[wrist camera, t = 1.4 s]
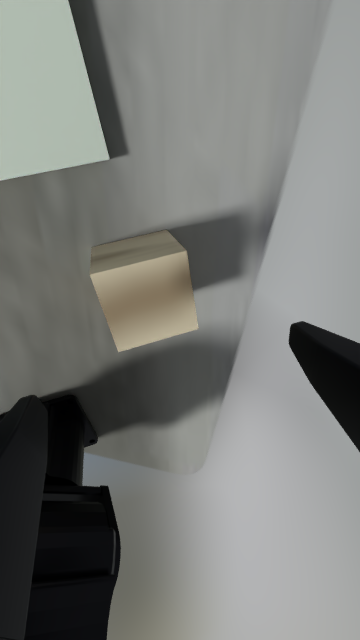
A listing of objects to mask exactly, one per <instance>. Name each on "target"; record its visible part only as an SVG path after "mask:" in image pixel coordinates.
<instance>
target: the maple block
mask: <svg viewBox="0 0 360 640" xmlns="http://www.w3.org/2000/svg"><path fill="white" fill-rule="evenodd" d="M90 277H91V279H92V282H93V285H94V287H95V290H96V293H97V295H98V298H99V301H100V303H101V306H102V309H103V312H104V314H105V317H106V320H107V322H108V325H109V328H110V330H111V333H112V336H113V338H114V341H115V344H116V347H117V349H118V352H121V351H124V350H127V349H131V348H134V347H138V346H141V345H145V344H148V343H152V342H155V341H159V340H162V339H165V338H169V337H172V336H176V335H179V334H183V333H186V332H190V331H193V330H197V329H198V323H197V316H196V309H195V303H194V296H193V289H192V283H191V276H190V269H189V263H188V256H187V250H186V249H185V248H184V247H183V246H182V245H181V244H180V243H179V242H178V241H177V240H176V239H175V238H174V237H173V236H172V235H171V234H170V233H169V232H168V231H167V230H163V231H159V232H154V233H150V234H146V235H141V236H137V237H133V238H129V239H124V240H120V241H116V242H112V243H107V244H103V245H99V246H95V247H92V249H91V264H90Z"/></svg>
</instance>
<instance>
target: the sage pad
mask: <svg viewBox="0 0 360 640" xmlns="http://www.w3.org/2000/svg"><path fill="white" fill-rule="evenodd" d="M104 160H109V155H108V151H107V147H106V143H105V139H104V136H103V132H102V128H101V124H100V120H99V116H98V113H97V109H96V105H95V101H94V97H93V93H92V90H91V86H90V82H89V78H88V74H87V71H86V67H85V63H84V59H83V55H82V51H81V48H80V44H79V40H78V36H77V32H76V28H75V25H74V21H73V17H72V13H71V9H70V5H69V2H68V0H0V181H1V180H6V179H11V178H16V177H21V176H27V175H32V174H37V173H42V172H47V171H52V170H58V169H63V168H68V167H73V166H78V165H83V164H88V163H94V162H99V161H104Z"/></svg>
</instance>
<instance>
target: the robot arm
mask: <svg viewBox="0 0 360 640" xmlns="http://www.w3.org/2000/svg"><path fill="white" fill-rule="evenodd" d="M289 345H290V348H291V349H292V351H293V353H294V355H295V357H296V358H297V360H298V362H299V364H300V366H301V367H302V369H303V371H304V373H305V375H306V376H307V378H308V380H309V381H310V383H311V384H312V386H313V387H314V389H315V390H316V392H317V393H318V394H319V396H320V397H321V399H322V400H323V401H324V403H325V404H326V406H327V407H328V408H329V410H330V411H331V412H332V414H333V415H334V417H335V418H336V419H337V421H338V422H339V424H340V425H341V426H342V428H343V429H344V431H345V432H346V433H347V435H348V436H349V438H350V439H351V440H352V442H353V443H354V445H355V446H356V447H357V449H358V450H359V452H360V343H357V342H355V341H352V340H350V339H347V338H345V337H342V336H339V335H337V334H334V333H332V332H329V331H327V330H324V329H322V328H319V327H317V326H314V325H311V324H309V323H306V322H303V321H301V322H297V323H294V324H292V325H291V327H290V334H289ZM97 441H98V436H97V434H96V432H95V431H94V429H93V427H92V425H91V423H90V421H89V420H88V418H87V416H86V414H85V412H84V410H83V409H82V407H81V405H80V403H79V401H78V400H77V398H76V397H75V396H74V395H67V396H64V397H61V398H57V399H54V400H51V401H48V402H44V403H41V401H40V400H39V399H38V397H37V396H35V395H29V396H26V397H22V398H21V399H19V400H18V402H17V403H16V404H15V405H14V406H13V407H12V409H11V410H10V411H9V412H8V413H7V414H5V415H1V416H0V640H106V639H107V627H108V618H109V611H110V605H111V599H112V595H113V590H114V587H115V584H116V581H117V577H118V571H119V565H120V549H121V547H120V536H119V531H118V526H117V522H116V518H115V513H114V509H113V505H112V501H111V496H110V492H109V488H108V486H100V487H92V486H82V479H83V458H84V447H87V446H90V445H93V444H96V443H97Z"/></svg>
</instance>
